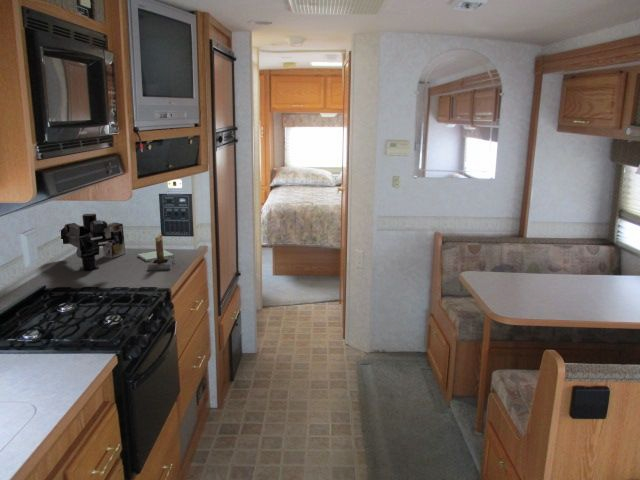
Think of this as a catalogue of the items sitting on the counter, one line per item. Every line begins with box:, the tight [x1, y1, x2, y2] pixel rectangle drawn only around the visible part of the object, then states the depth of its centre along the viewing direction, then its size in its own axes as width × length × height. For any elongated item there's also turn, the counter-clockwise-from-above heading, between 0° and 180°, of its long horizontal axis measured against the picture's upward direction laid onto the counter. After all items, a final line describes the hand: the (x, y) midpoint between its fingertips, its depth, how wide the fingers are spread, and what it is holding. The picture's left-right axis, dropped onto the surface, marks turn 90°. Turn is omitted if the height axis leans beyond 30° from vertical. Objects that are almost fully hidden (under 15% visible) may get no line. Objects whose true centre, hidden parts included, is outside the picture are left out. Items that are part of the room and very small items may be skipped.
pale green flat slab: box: [137, 249, 175, 263], centre depth 271 cm, size 14×12×1 cm
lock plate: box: [147, 256, 176, 271], centre depth 255 cm, size 10×12×2 cm
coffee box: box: [102, 222, 127, 259], centre depth 272 cm, size 9×6×16 cm
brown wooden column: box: [154, 233, 165, 263], centre depth 253 cm, size 5×8×15 cm, turn 5°
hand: (108, 244), depth 230 cm, fingers open, 9 cm apart
